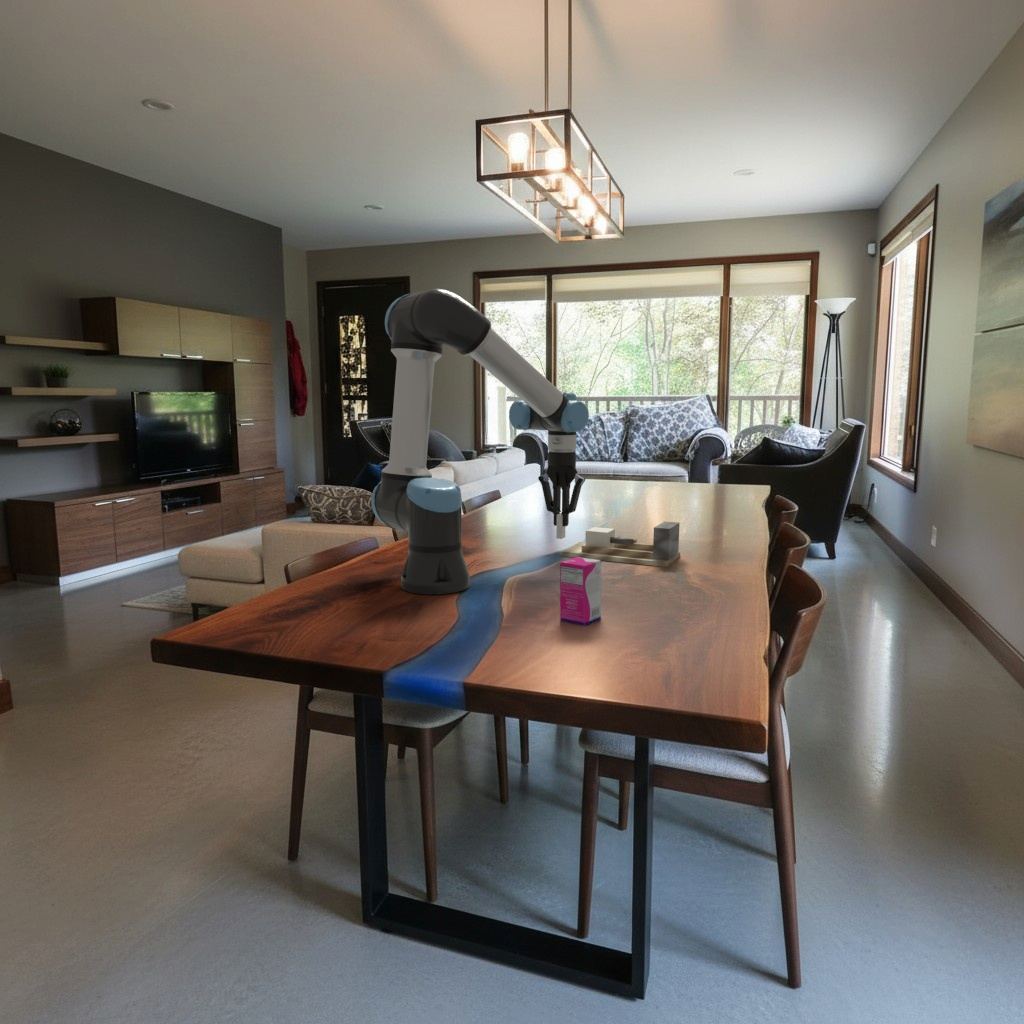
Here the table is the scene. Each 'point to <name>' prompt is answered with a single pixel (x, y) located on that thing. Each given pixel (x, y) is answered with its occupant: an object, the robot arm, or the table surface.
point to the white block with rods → (605, 538)
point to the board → (636, 549)
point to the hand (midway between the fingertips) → (560, 537)
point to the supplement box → (580, 591)
